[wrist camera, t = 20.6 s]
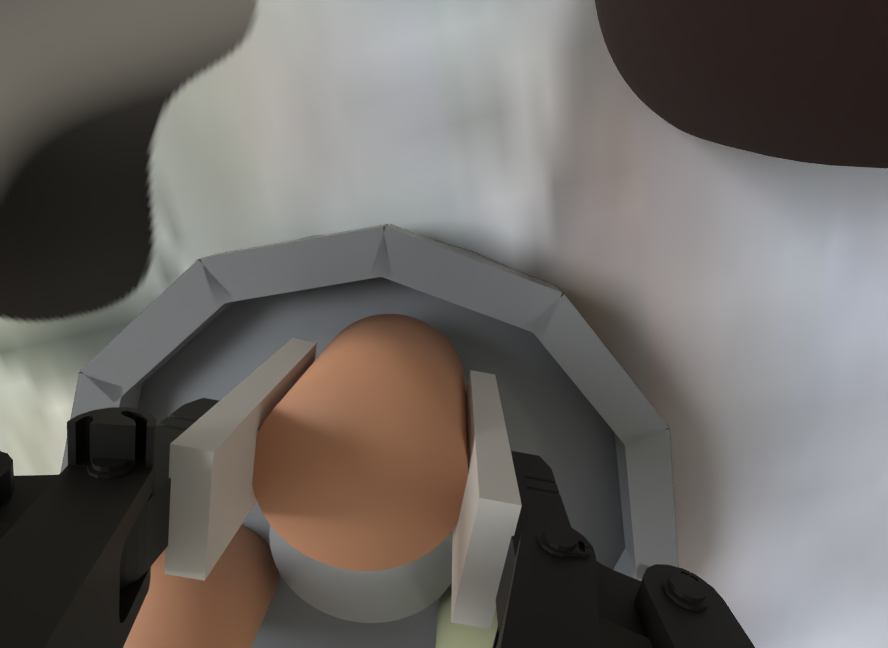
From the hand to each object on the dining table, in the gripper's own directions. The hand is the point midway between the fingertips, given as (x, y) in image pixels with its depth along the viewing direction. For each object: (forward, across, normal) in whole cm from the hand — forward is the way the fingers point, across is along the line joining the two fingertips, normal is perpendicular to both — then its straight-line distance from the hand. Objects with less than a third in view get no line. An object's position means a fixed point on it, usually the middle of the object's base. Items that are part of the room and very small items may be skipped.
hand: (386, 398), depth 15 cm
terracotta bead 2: (+1, 0, 0) cm, 1 cm away
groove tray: (+4, 0, -6) cm, 7 cm away
